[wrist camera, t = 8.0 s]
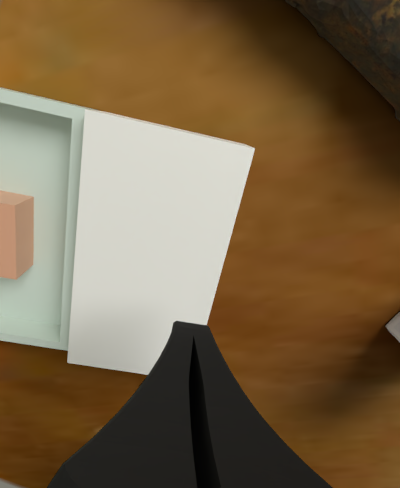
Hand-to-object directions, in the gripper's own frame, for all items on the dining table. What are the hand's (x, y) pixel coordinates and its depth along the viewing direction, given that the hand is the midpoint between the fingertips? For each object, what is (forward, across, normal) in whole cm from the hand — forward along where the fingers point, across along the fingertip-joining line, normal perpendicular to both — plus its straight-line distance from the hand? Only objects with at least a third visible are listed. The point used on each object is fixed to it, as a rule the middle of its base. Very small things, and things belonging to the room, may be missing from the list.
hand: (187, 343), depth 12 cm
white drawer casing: (+9, +2, 0) cm, 9 cm away
